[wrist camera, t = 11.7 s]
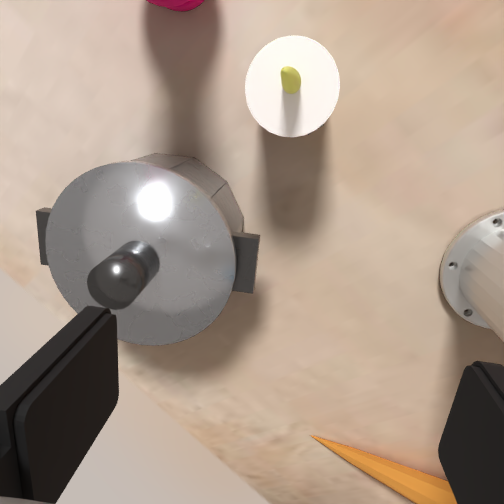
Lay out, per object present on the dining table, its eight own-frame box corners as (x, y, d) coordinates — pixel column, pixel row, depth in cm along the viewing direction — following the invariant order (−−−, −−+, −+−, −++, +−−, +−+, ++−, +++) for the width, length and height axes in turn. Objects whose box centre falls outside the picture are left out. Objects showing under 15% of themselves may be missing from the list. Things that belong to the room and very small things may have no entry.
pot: (271, 166, 39) (264, 182, 30) (256, 301, 44) (246, 347, 35) (81, 144, 40) (23, 153, 32) (88, 278, 45) (39, 316, 37)
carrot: (460, 481, 50) (479, 501, 46) (446, 514, 50) (463, 538, 45) (314, 411, 51) (319, 424, 47) (300, 444, 51) (303, 460, 47)
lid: (243, 166, 31) (228, 181, 24) (235, 339, 37) (220, 393, 30) (52, 151, 33) (-15, 163, 26) (71, 321, 38) (20, 368, 31)
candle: (283, 145, 38) (275, 166, 24) (246, 84, 36) (213, 67, 22) (342, 106, 36) (370, 104, 22) (305, 40, 35) (310, -7, 21)
